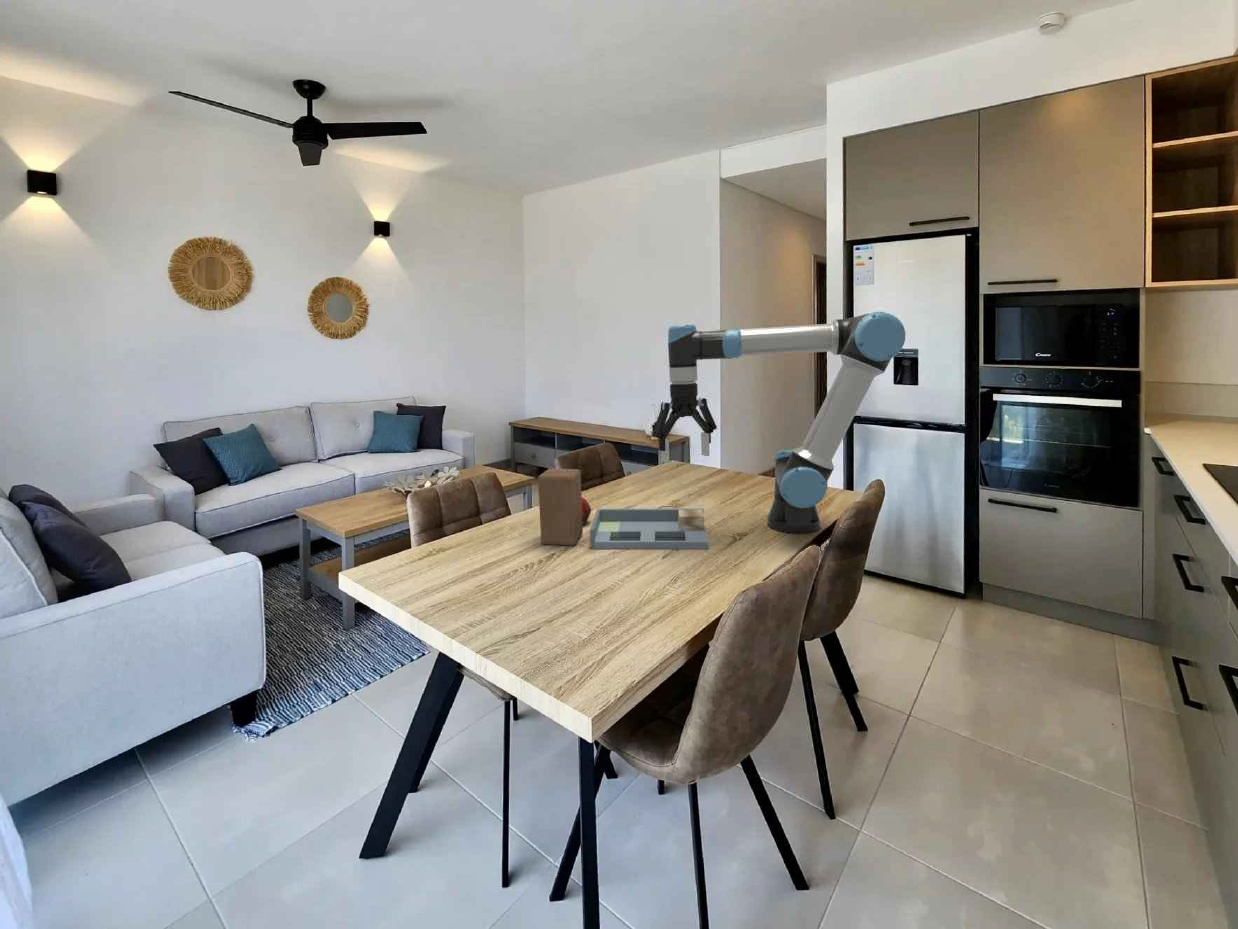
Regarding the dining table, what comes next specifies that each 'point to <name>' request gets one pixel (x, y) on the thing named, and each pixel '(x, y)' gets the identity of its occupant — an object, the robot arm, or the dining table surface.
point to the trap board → (643, 530)
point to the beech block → (691, 520)
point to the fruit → (585, 510)
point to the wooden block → (560, 506)
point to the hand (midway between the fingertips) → (685, 458)
